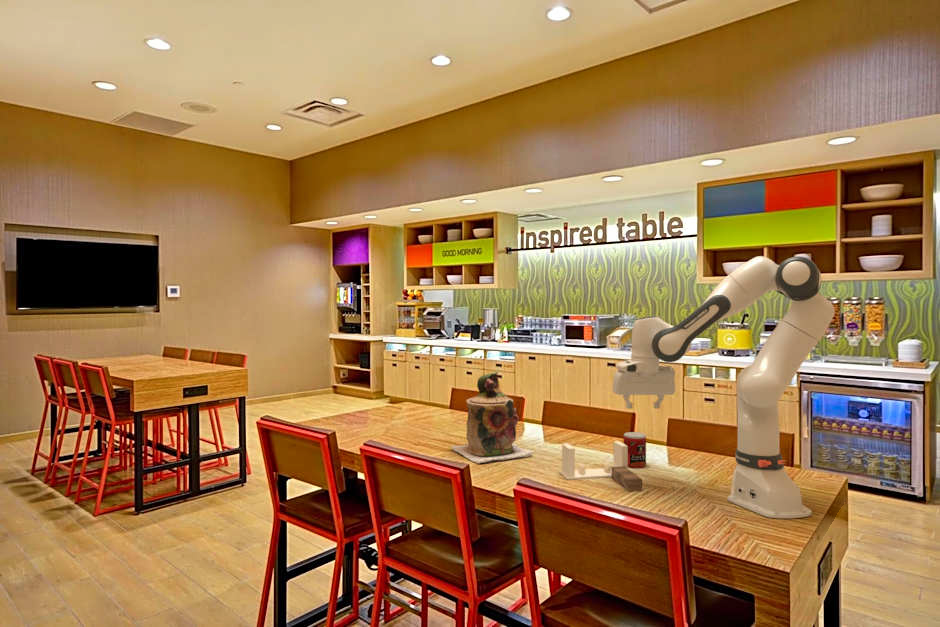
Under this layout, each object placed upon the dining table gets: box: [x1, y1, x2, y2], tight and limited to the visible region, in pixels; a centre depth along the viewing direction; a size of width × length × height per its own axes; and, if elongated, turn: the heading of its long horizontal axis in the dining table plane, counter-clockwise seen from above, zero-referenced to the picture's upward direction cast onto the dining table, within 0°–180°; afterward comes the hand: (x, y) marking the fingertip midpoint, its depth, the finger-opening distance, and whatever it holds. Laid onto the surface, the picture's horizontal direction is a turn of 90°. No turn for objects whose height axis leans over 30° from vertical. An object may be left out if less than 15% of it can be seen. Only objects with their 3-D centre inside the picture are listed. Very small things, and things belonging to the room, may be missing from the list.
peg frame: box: [559, 440, 629, 480], centre depth 198 cm, size 22×8×10 cm, turn 99°
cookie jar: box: [451, 369, 535, 464], centre depth 225 cm, size 25×25×32 cm
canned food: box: [623, 431, 647, 469], centre depth 208 cm, size 8×8×11 cm
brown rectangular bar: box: [610, 466, 643, 493], centre depth 187 cm, size 14×4×4 cm, turn 8°
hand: (643, 408), depth 191 cm, fingers open, 8 cm apart
